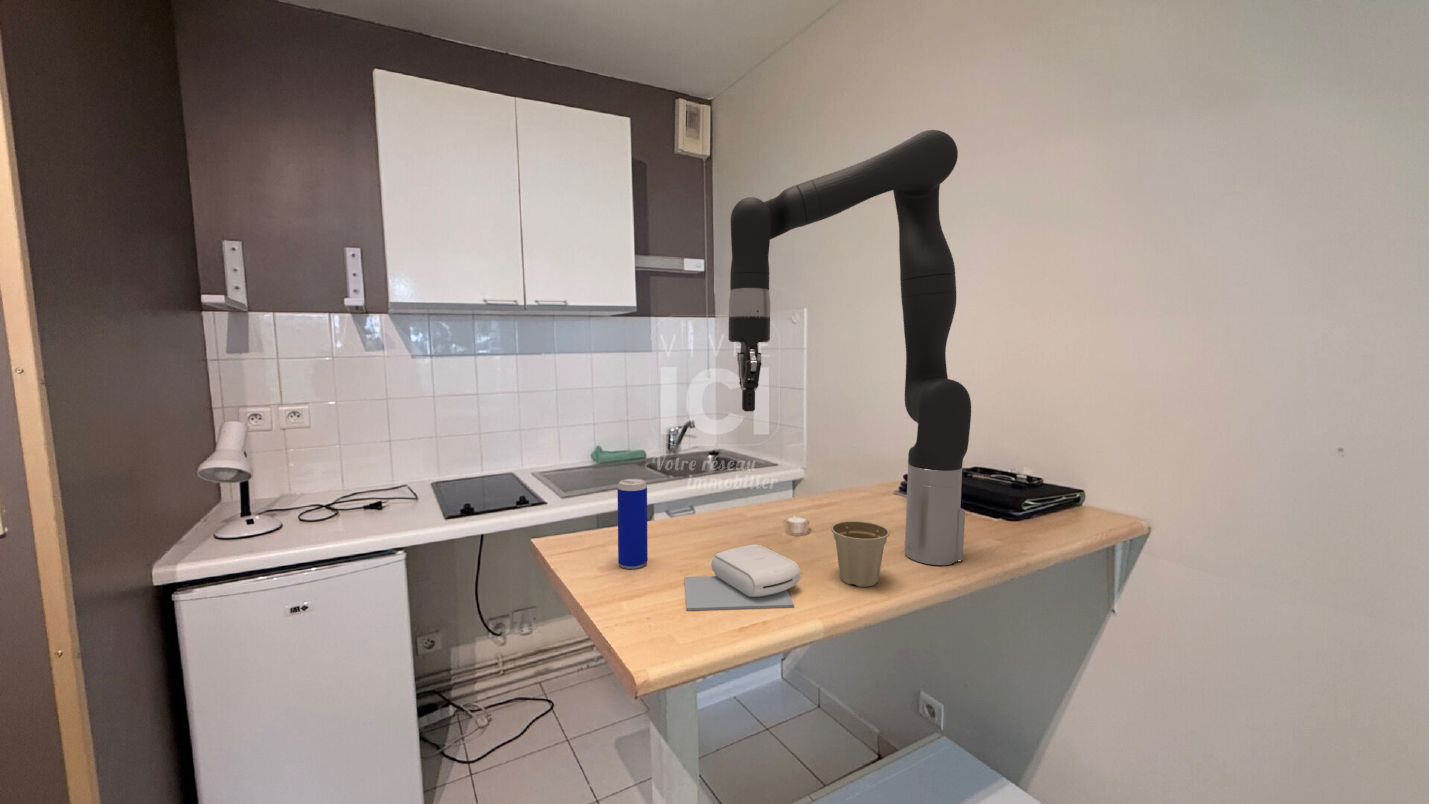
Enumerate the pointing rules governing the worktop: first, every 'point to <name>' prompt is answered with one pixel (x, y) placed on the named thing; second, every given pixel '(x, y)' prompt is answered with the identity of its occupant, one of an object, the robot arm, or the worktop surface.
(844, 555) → the flower pot
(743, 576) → the photo printer
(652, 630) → the worktop surface
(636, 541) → the beverage can
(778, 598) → the mat
